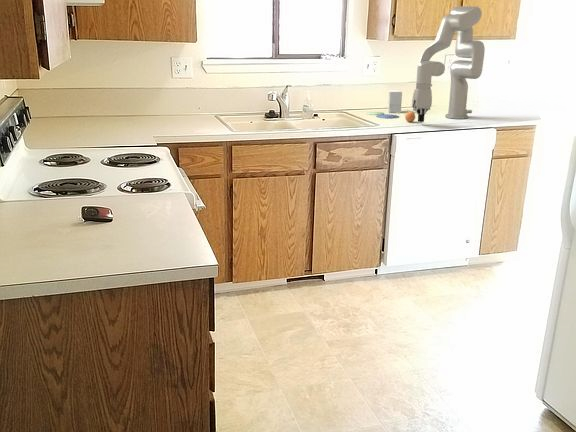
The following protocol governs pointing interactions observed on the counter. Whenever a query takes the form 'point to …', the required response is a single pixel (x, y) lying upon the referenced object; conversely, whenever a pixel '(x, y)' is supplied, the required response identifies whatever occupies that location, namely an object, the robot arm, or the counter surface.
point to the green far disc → (375, 113)
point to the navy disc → (387, 116)
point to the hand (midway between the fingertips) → (420, 121)
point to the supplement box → (395, 101)
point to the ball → (410, 116)
